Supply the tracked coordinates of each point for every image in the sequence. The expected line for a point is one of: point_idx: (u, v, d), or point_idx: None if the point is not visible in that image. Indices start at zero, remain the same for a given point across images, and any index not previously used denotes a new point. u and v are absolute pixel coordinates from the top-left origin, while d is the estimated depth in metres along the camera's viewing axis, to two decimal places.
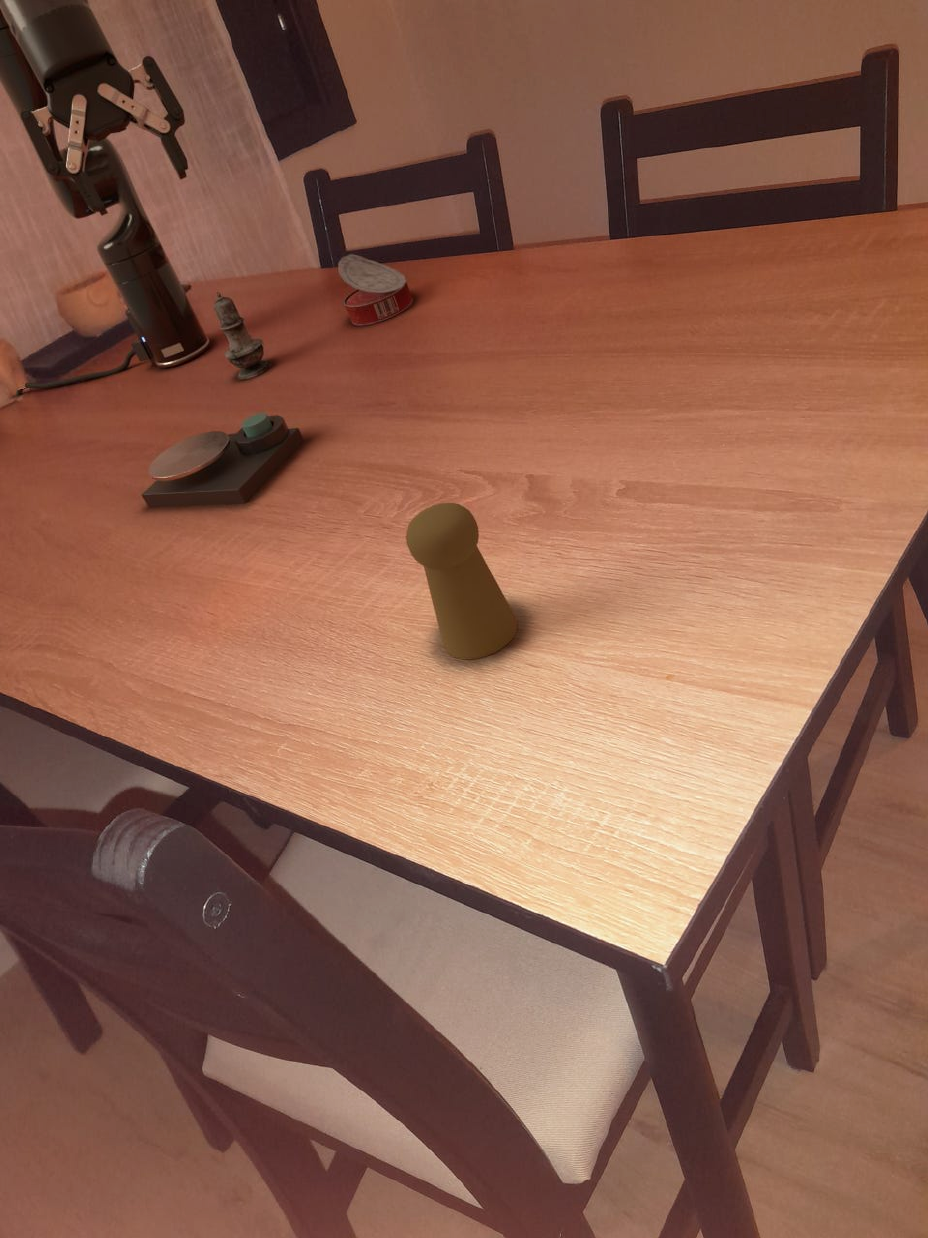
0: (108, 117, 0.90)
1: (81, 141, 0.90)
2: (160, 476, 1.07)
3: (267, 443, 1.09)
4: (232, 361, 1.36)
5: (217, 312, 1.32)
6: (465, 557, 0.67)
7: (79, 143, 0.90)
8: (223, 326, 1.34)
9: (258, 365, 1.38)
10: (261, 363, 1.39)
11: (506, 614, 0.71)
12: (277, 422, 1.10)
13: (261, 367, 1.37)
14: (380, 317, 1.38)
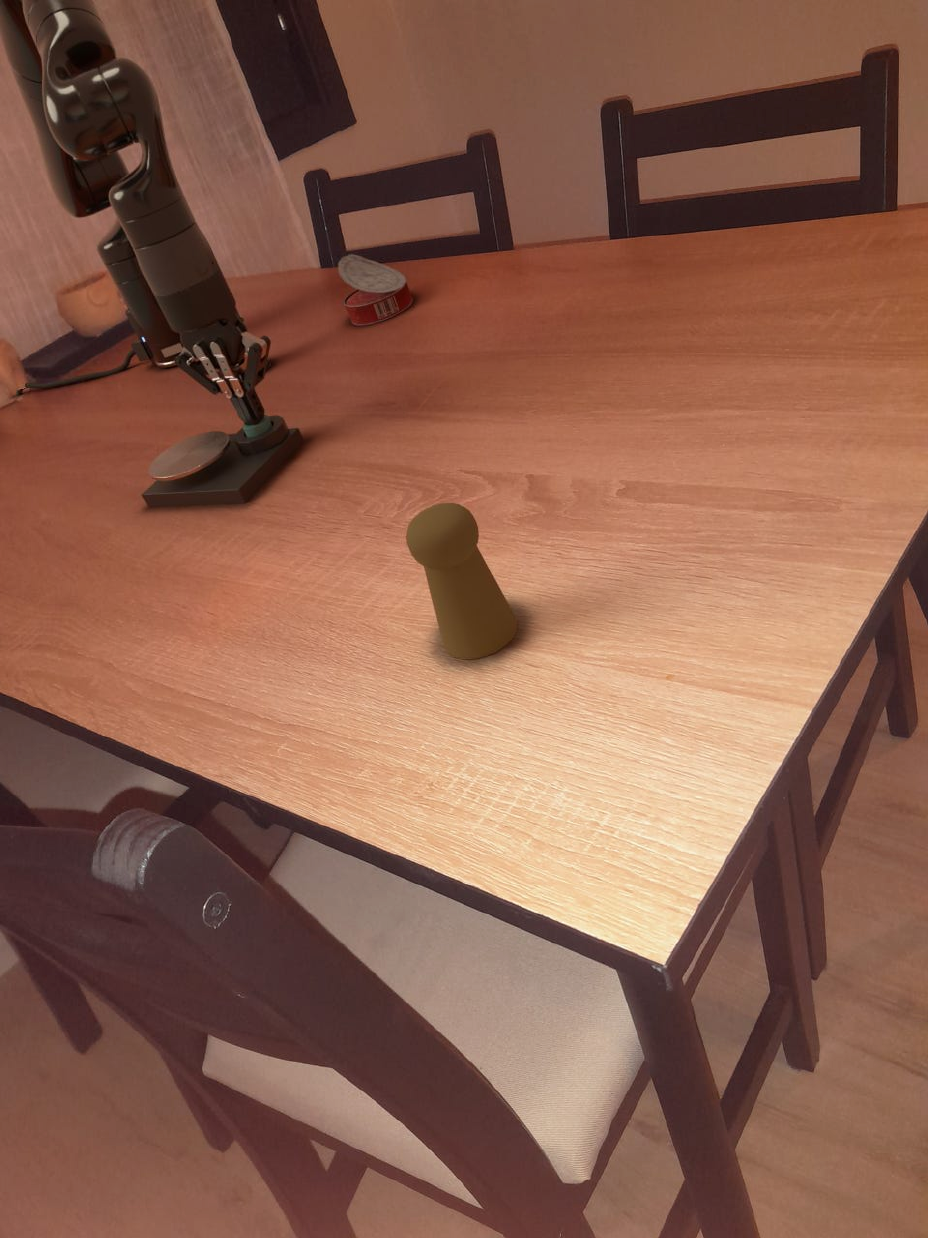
0: None
1: (218, 375, 1.05)
2: (160, 476, 1.07)
3: (267, 443, 1.09)
4: None
5: None
6: (465, 557, 0.67)
7: (218, 378, 1.05)
8: None
9: None
10: None
11: (506, 614, 0.71)
12: (277, 422, 1.10)
13: None
14: (380, 317, 1.38)
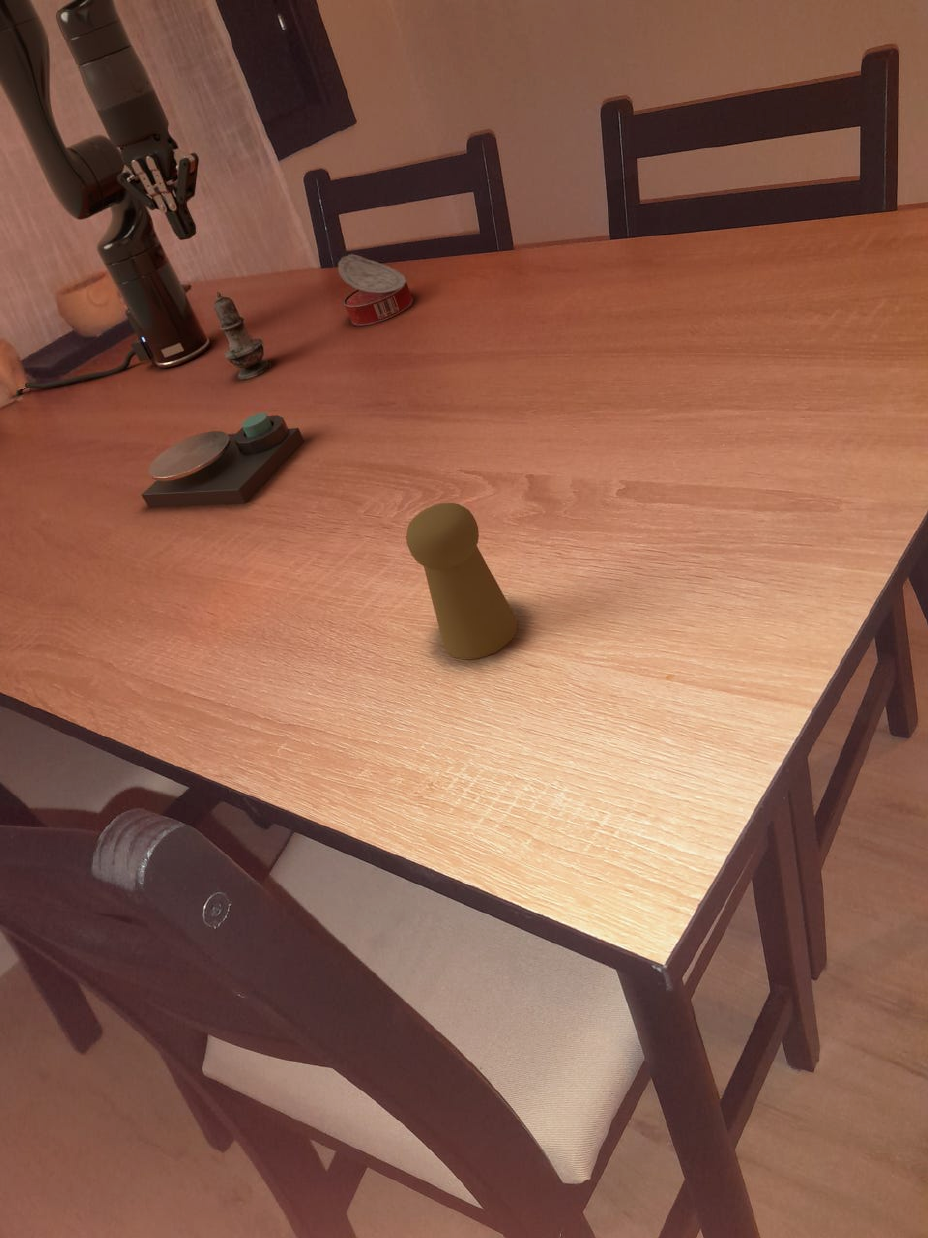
0: None
1: (154, 190, 1.21)
2: (160, 476, 1.07)
3: (267, 443, 1.09)
4: (232, 361, 1.36)
5: (217, 312, 1.32)
6: (465, 557, 0.67)
7: (154, 192, 1.22)
8: (223, 326, 1.34)
9: (258, 365, 1.38)
10: (261, 363, 1.39)
11: (506, 614, 0.71)
12: (277, 422, 1.10)
13: (261, 367, 1.37)
14: (380, 317, 1.38)
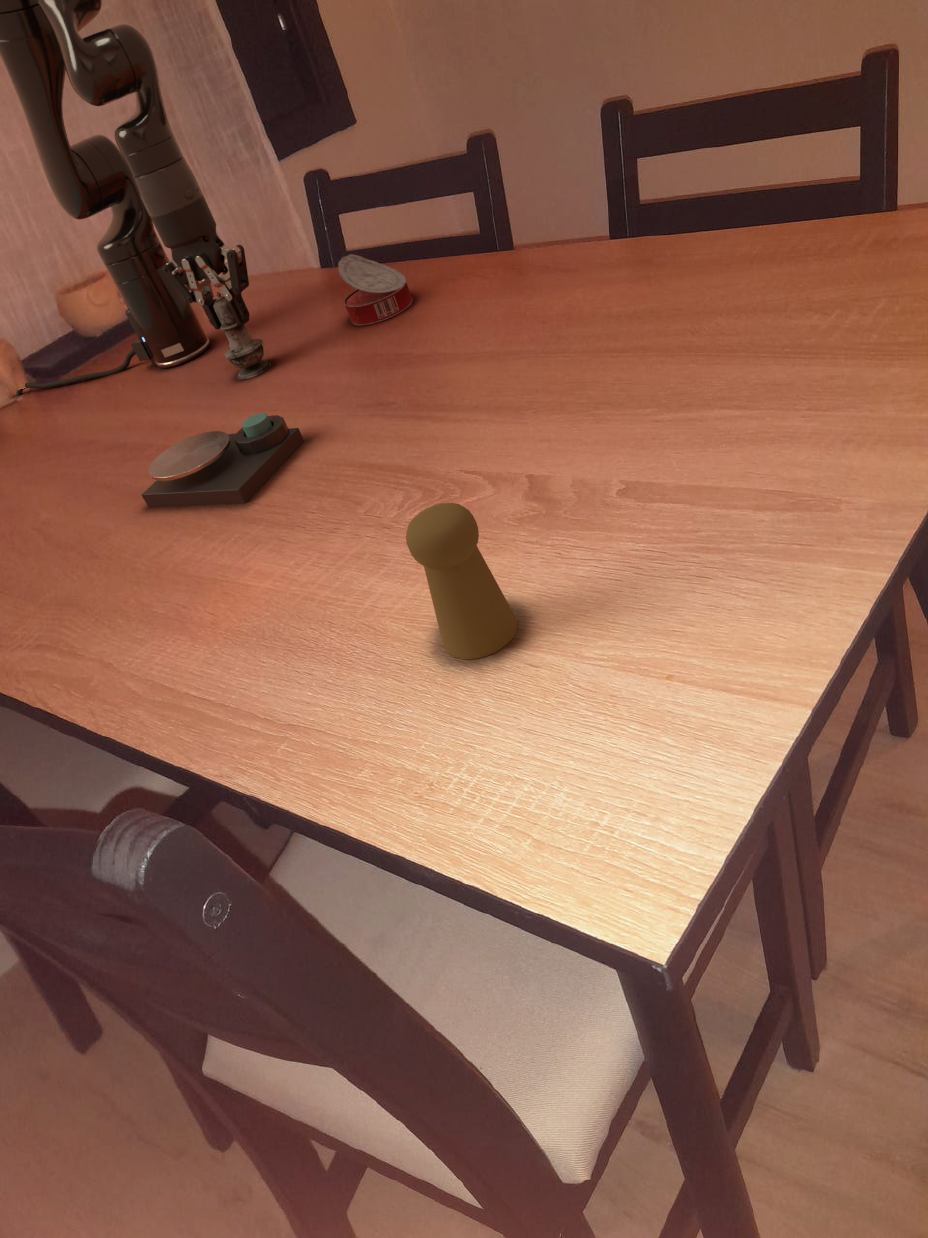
0: (204, 273, 1.29)
1: (197, 287, 1.31)
2: (160, 476, 1.07)
3: (267, 443, 1.09)
4: (232, 361, 1.36)
5: (217, 312, 1.32)
6: (465, 557, 0.67)
7: (196, 288, 1.31)
8: (223, 326, 1.34)
9: (258, 365, 1.38)
10: (261, 363, 1.39)
11: (506, 614, 0.71)
12: (277, 422, 1.10)
13: (261, 367, 1.37)
14: (380, 317, 1.38)
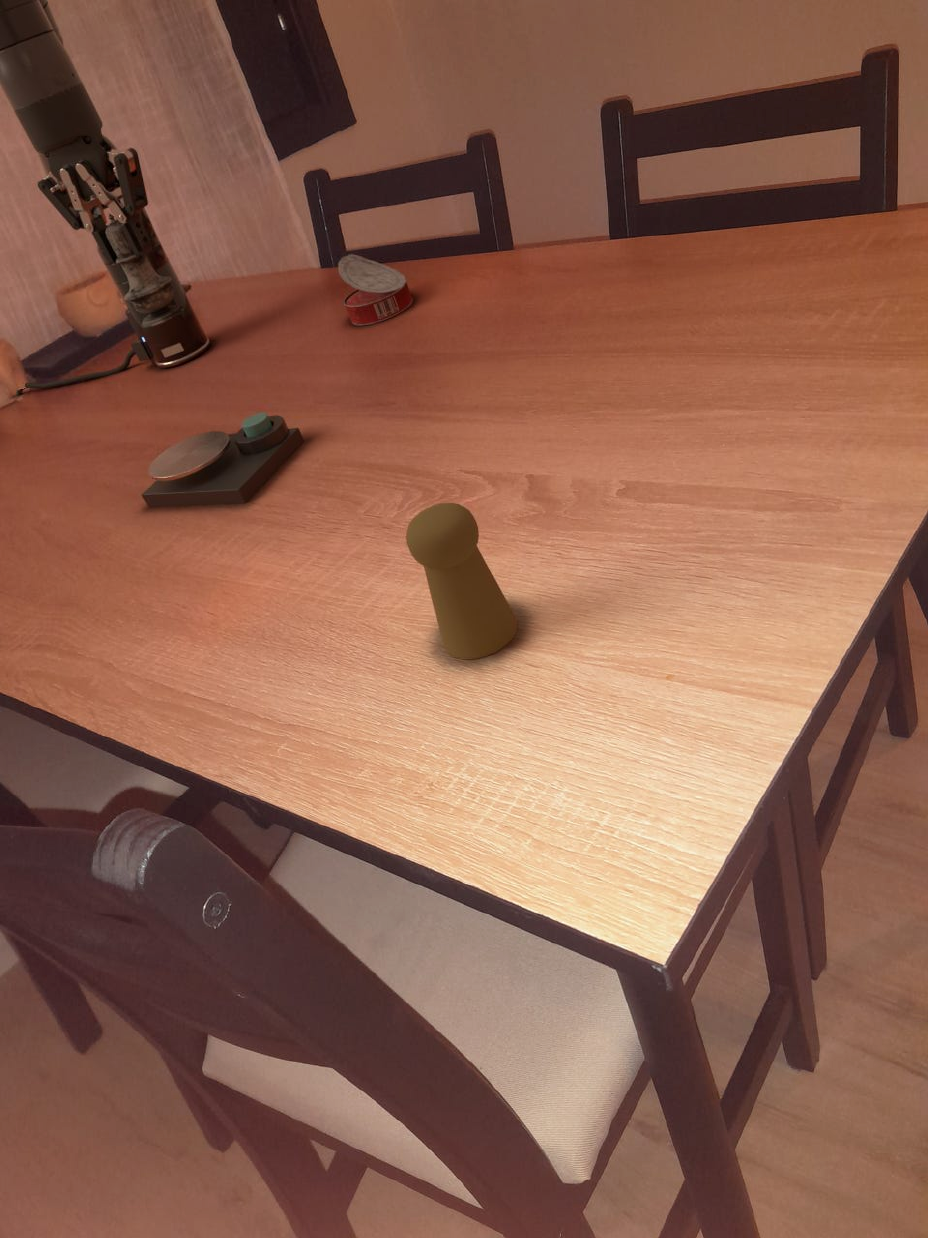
0: (90, 187, 1.01)
1: (82, 206, 1.03)
2: (160, 476, 1.07)
3: (267, 443, 1.09)
4: (132, 303, 1.08)
5: (110, 239, 1.05)
6: (465, 557, 0.67)
7: (81, 209, 1.03)
8: (119, 258, 1.06)
9: (167, 310, 1.10)
10: (172, 307, 1.11)
11: (506, 614, 0.71)
12: (277, 422, 1.10)
13: (170, 311, 1.09)
14: (380, 317, 1.38)
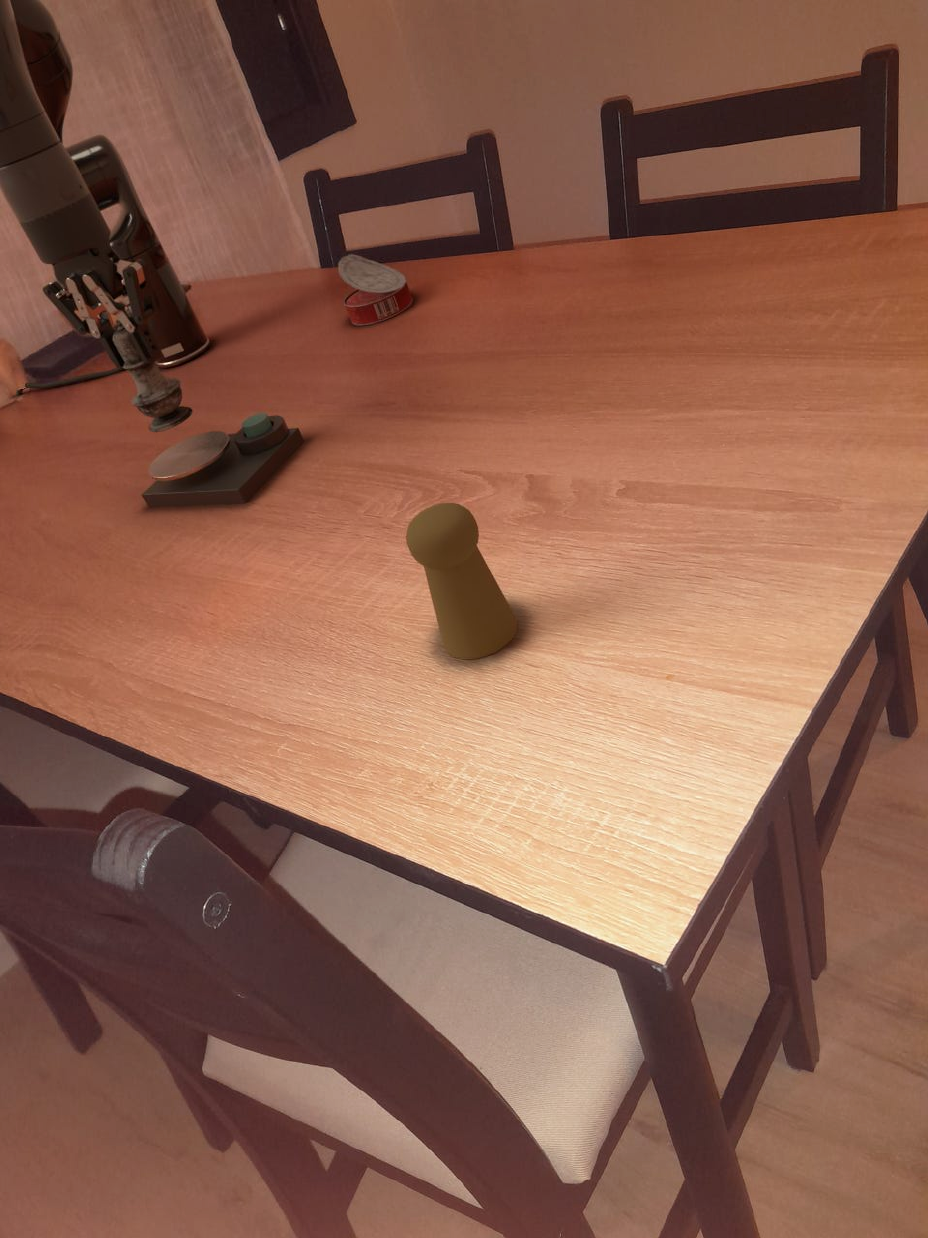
0: (97, 296, 0.98)
1: (88, 314, 0.99)
2: (160, 476, 1.07)
3: (267, 443, 1.09)
4: (140, 409, 1.05)
5: (117, 346, 1.01)
6: (465, 557, 0.67)
7: (88, 316, 0.99)
8: (126, 364, 1.02)
9: (175, 413, 1.07)
10: (180, 410, 1.07)
11: (506, 614, 0.71)
12: (277, 422, 1.10)
13: (179, 415, 1.06)
14: (380, 317, 1.38)
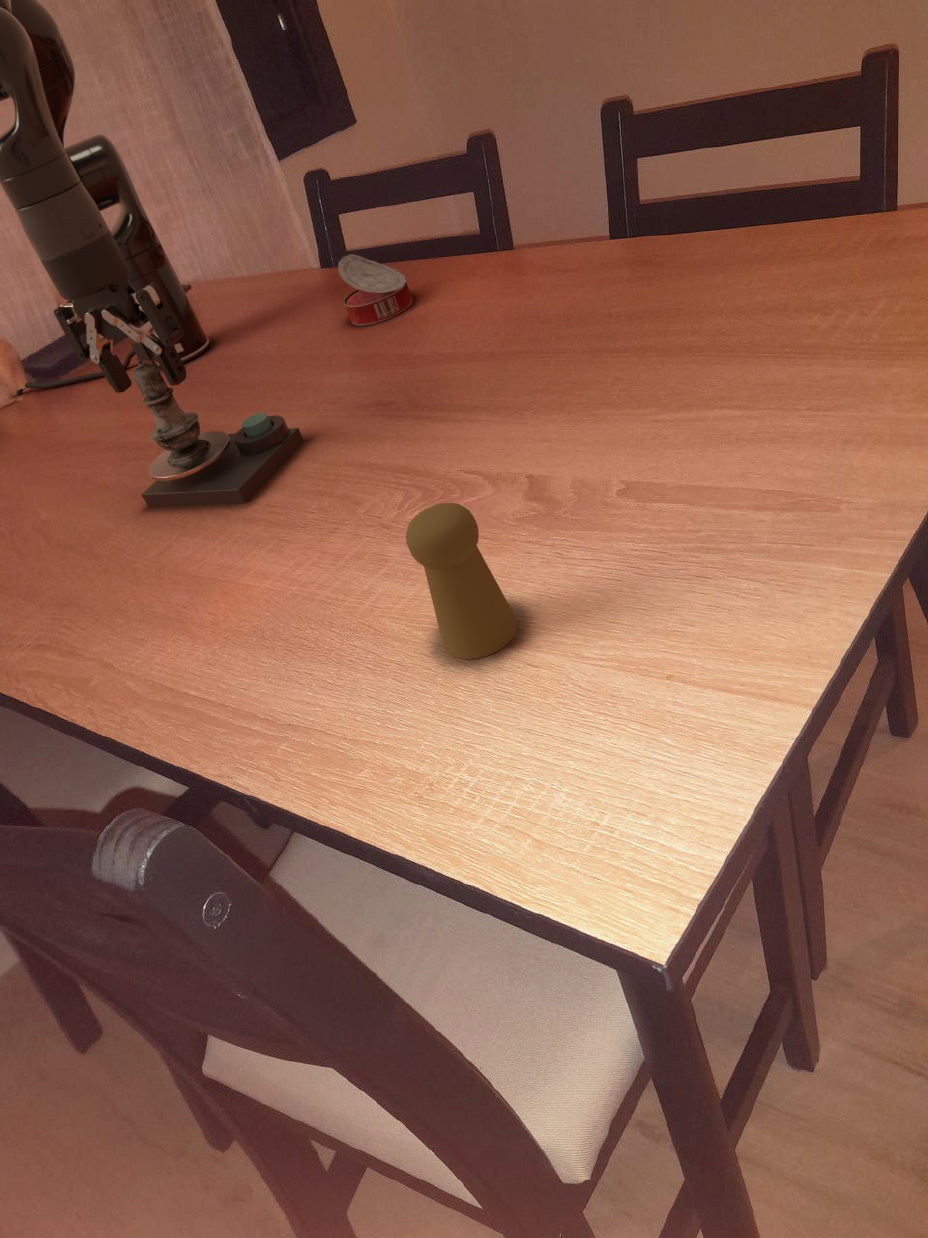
0: (115, 330, 1.00)
1: (96, 345, 1.02)
2: (160, 476, 1.07)
3: (267, 443, 1.09)
4: (159, 443, 1.07)
5: (137, 383, 1.04)
6: (465, 557, 0.67)
7: (94, 347, 1.02)
8: (146, 400, 1.05)
9: (193, 447, 1.09)
10: (198, 443, 1.10)
11: (506, 614, 0.71)
12: (277, 422, 1.10)
13: (197, 449, 1.09)
14: (380, 317, 1.38)
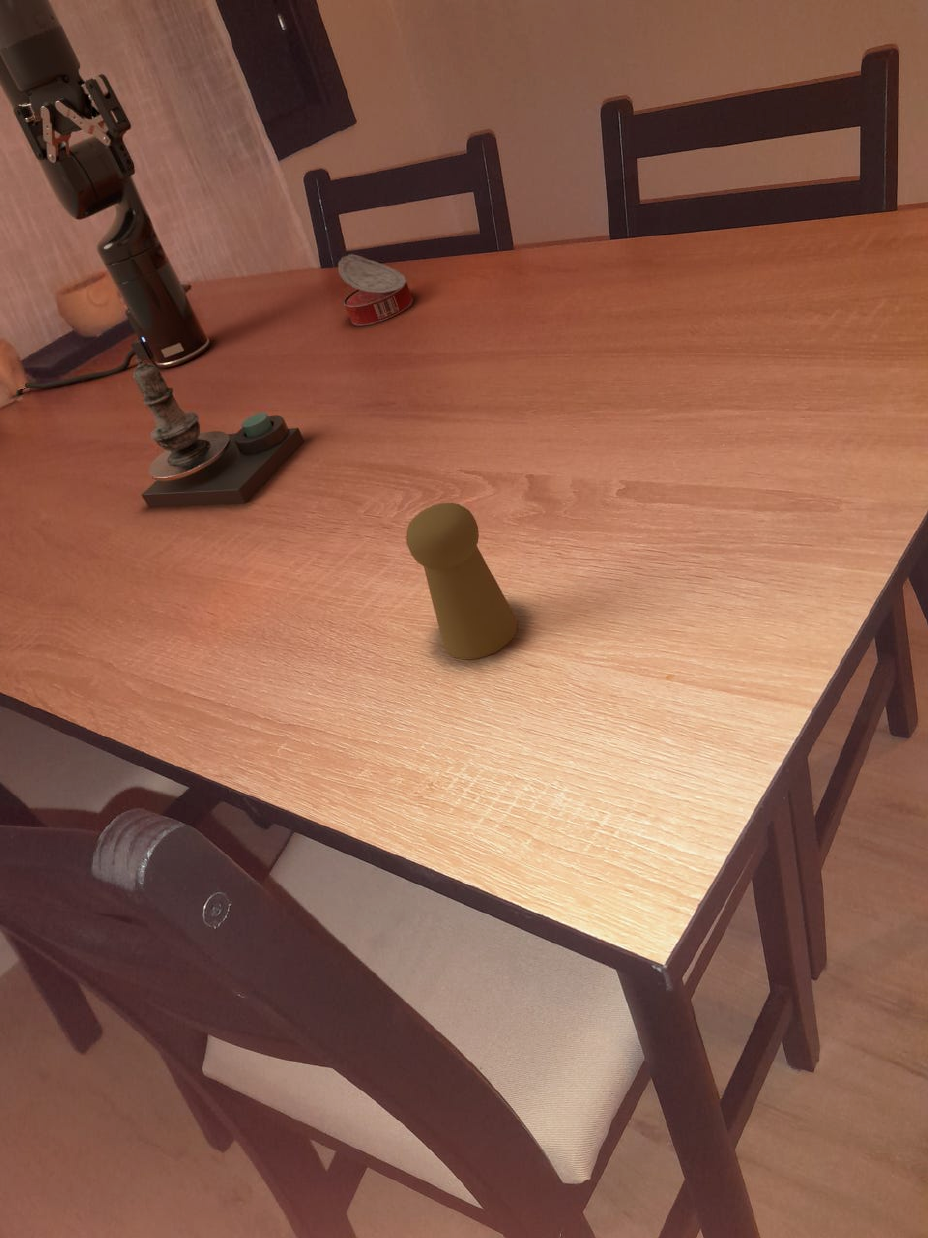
0: (68, 124, 1.10)
1: (52, 141, 1.12)
2: (160, 476, 1.07)
3: (267, 443, 1.09)
4: (159, 443, 1.07)
5: (137, 383, 1.04)
6: (465, 557, 0.67)
7: (51, 143, 1.12)
8: (146, 400, 1.05)
9: (193, 447, 1.09)
10: (198, 443, 1.10)
11: (506, 614, 0.71)
12: (277, 422, 1.10)
13: (197, 449, 1.09)
14: (380, 317, 1.38)
